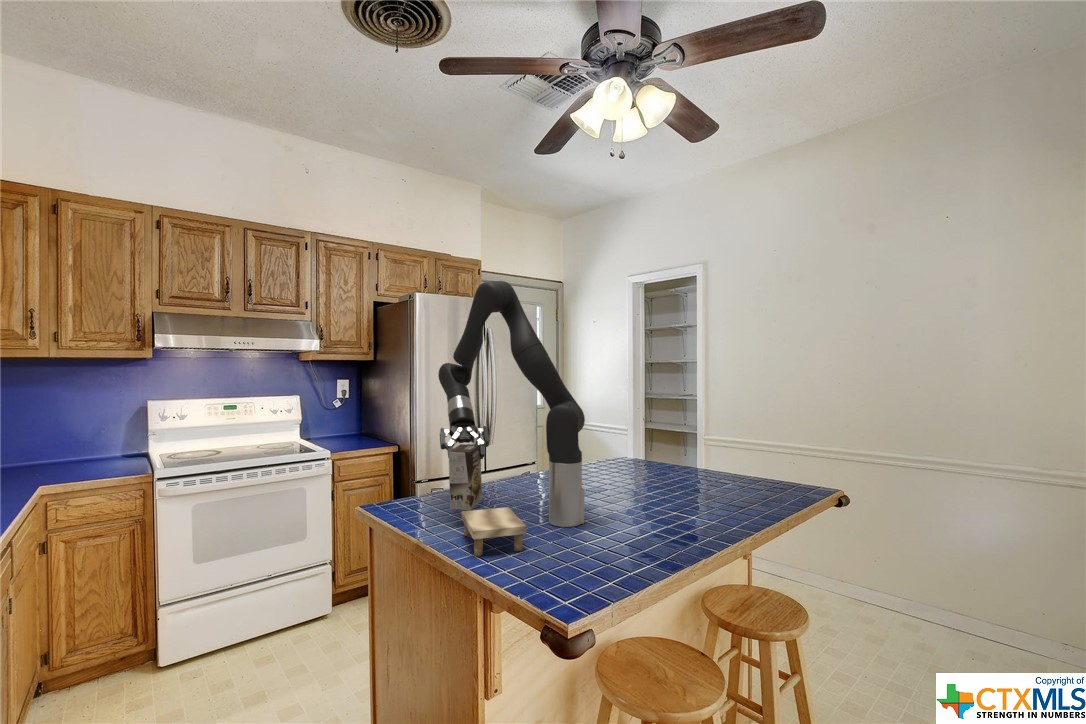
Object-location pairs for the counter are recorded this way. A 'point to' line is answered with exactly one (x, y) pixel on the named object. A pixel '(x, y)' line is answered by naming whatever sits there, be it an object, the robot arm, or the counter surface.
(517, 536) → the footstool
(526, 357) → the robot arm
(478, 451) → the coffee box
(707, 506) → the counter surface
